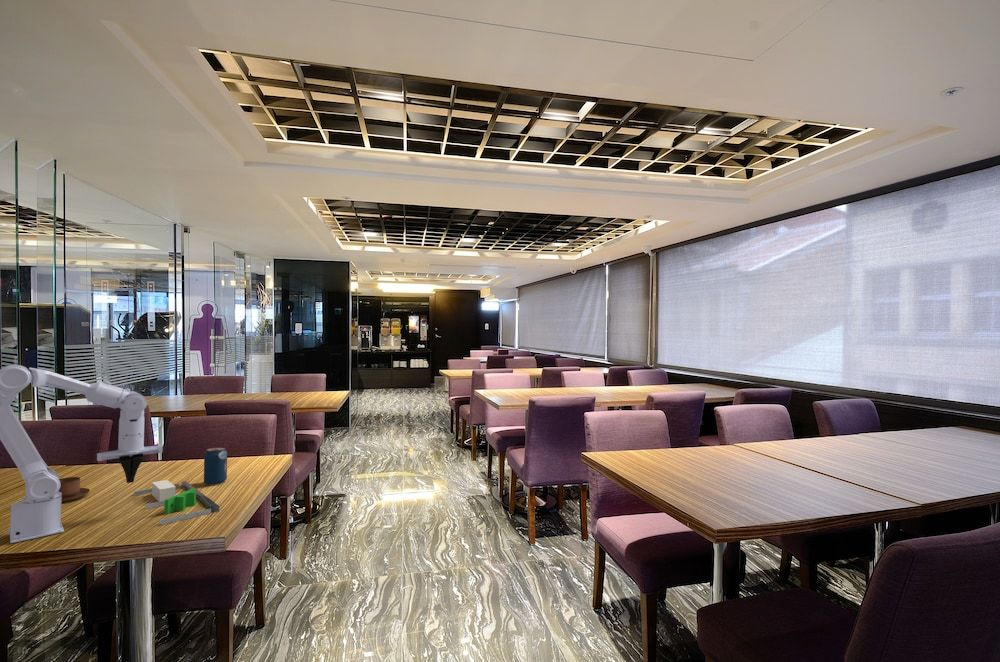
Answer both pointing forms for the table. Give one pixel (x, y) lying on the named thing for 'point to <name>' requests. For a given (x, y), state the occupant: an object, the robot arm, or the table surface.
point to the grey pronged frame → (199, 496)
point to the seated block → (163, 490)
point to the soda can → (215, 466)
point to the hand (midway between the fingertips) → (130, 481)
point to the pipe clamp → (180, 501)
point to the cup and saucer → (71, 489)
